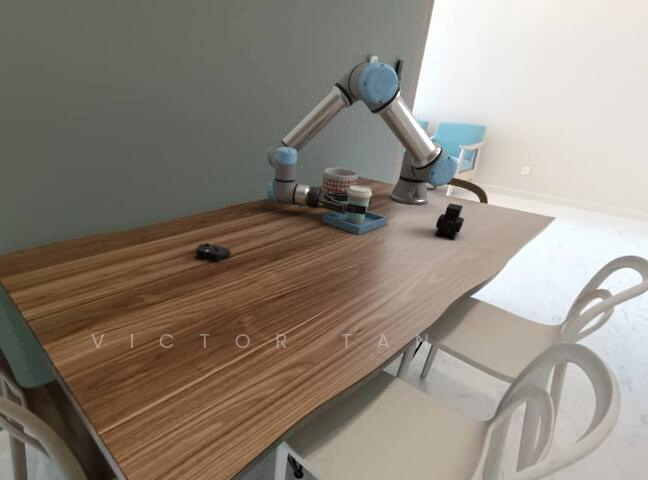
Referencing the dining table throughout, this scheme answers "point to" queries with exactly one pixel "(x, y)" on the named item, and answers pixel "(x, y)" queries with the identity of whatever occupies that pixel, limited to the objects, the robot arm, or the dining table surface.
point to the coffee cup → (358, 202)
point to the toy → (450, 221)
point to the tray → (368, 224)
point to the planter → (339, 180)
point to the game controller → (212, 251)
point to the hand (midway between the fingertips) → (368, 205)
